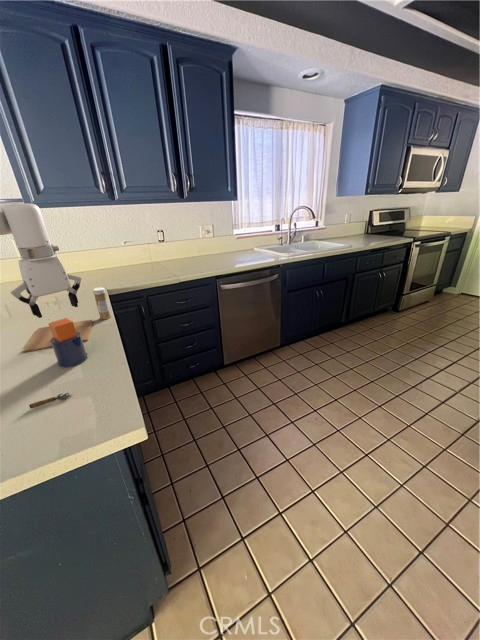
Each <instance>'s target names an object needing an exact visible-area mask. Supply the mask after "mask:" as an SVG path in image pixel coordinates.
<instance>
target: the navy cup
mask: <svg viewBox="0 0 480 640" xmlns="http://www.w3.org/2000/svg"><path fill="white" fill-rule="evenodd" d="M76 333H77V336H76V337H73V338H70V339H67V340H65V341H62V342H59V341H57V340H56V339H55V338H51V340H50V342H51V344H52V347H51V348H52V349H53V352H54V355H55V358H56V361H57V363H56V364H57V366H58V367H60V368H70V367H71V368H72V367H75V366H79V365H80V364H82V363H84V362H86V361H87V360H88V357H89V356H88V352H87V351H86V348H85V345H84V341H82V338H81V335H80V333H79V332H77V331H76Z"/></svg>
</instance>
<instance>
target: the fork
mask: <svg viewBox="0 0 480 640" xmlns="http://www.w3.org/2000/svg"><path fill="white" fill-rule="evenodd" d="M71 396H72V394H70V393H69V392H66V393H64V394H62V393H59V394H58V395H56V396H52V397H50V398H47V399H42V400H39V401H36V402H32V403H30V404H29V406H28V407H29V409H34V408H38V407H41V406H43V405H46V404H49V403H52V402H55V401H57V400H58V401H64V400H66V399H68V398H70V397H71Z"/></svg>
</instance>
